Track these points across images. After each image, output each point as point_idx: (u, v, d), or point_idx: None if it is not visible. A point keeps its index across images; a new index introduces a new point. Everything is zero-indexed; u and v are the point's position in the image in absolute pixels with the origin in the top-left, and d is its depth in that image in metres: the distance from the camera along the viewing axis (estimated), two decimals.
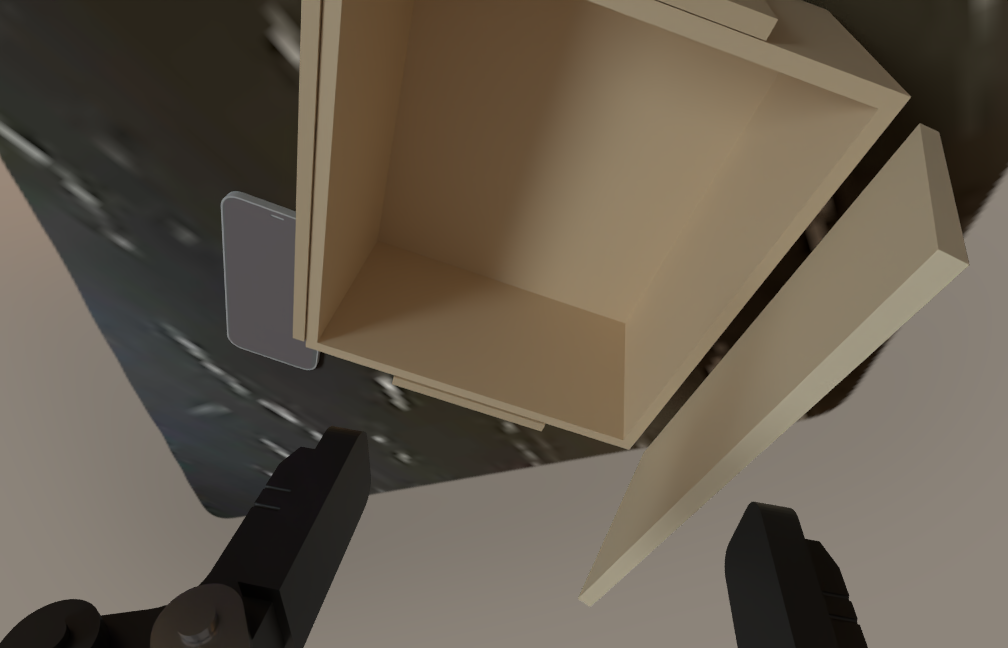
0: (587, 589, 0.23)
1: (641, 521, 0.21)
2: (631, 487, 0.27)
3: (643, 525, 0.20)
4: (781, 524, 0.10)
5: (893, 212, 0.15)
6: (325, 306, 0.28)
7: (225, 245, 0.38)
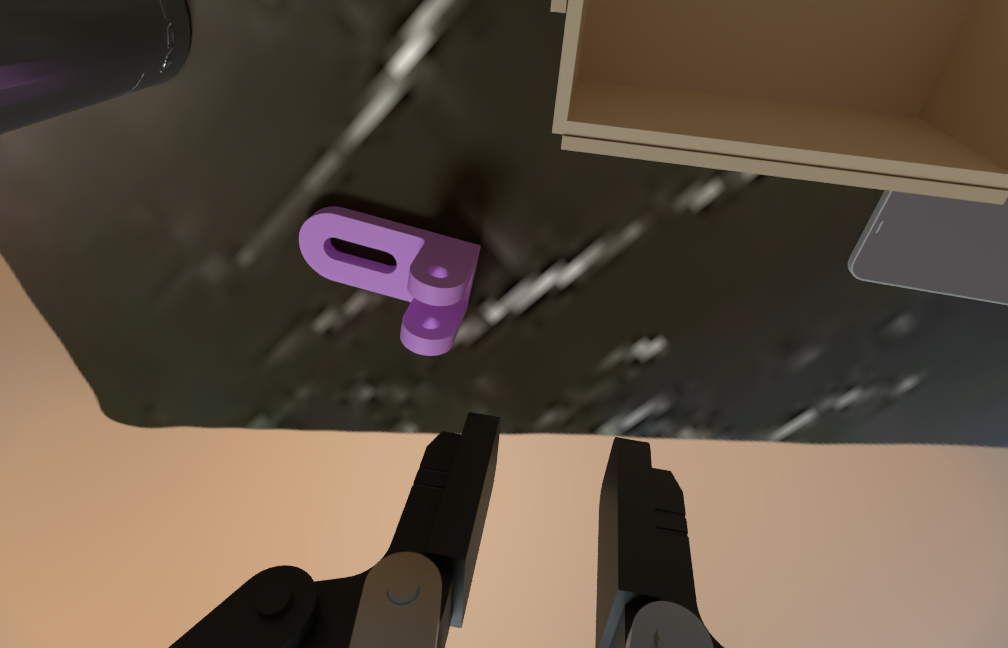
0: None
1: None
2: None
3: None
4: (633, 454, 0.12)
5: None
6: (958, 163, 0.24)
7: (915, 286, 0.37)
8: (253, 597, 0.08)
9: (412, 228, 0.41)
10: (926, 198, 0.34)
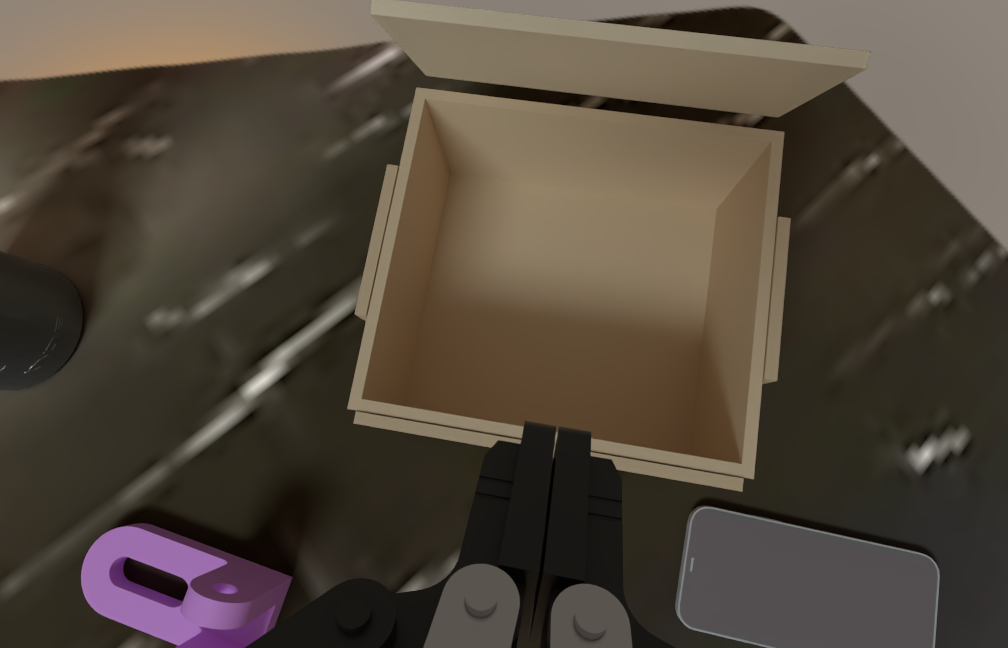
0: (837, 65, 0.21)
1: (714, 62, 0.23)
2: (783, 102, 0.27)
3: (704, 57, 0.22)
4: (573, 442, 0.12)
5: (424, 50, 0.27)
6: None
7: (749, 639, 0.34)
8: (335, 607, 0.08)
9: (220, 552, 0.37)
10: (724, 534, 0.35)
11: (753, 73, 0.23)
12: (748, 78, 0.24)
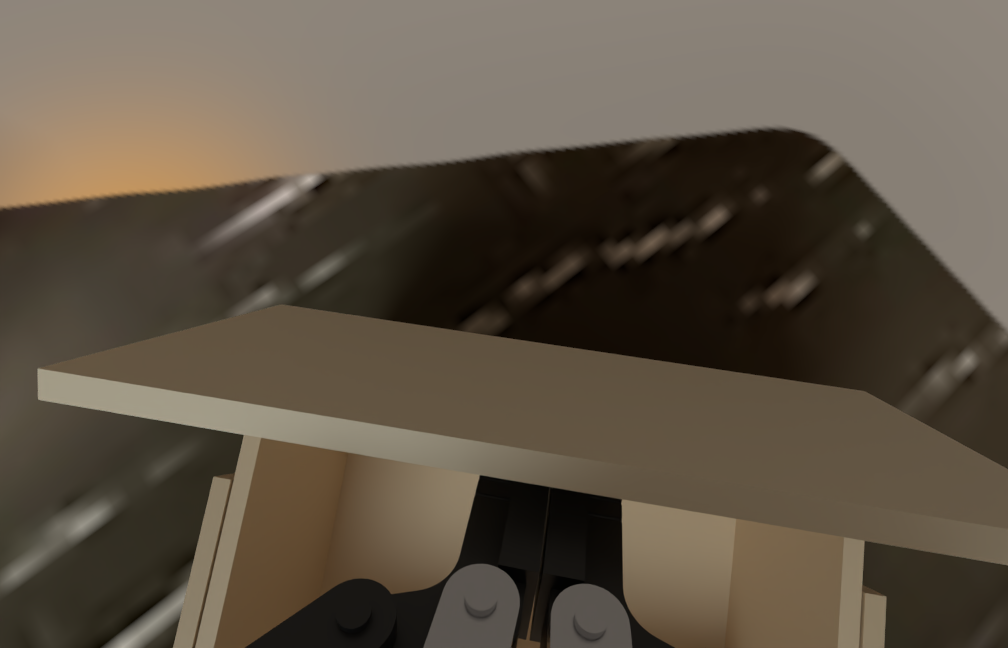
0: None
1: None
2: None
3: None
4: None
5: None
6: None
7: None
8: (335, 607, 0.08)
9: None
10: None
11: None
12: None
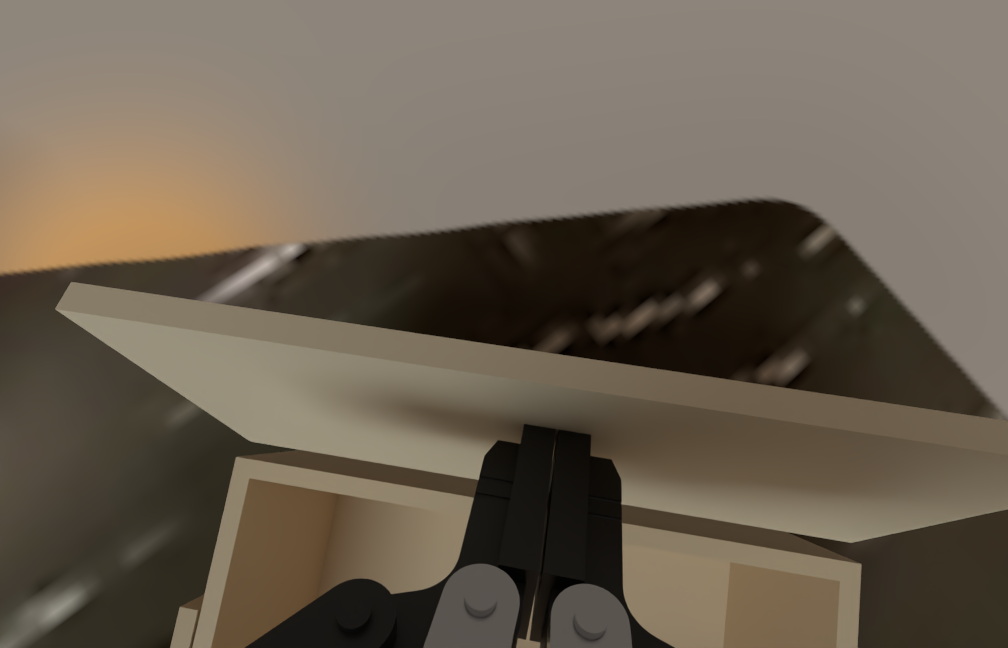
0: None
1: (784, 444, 0.11)
2: (882, 522, 0.14)
3: (766, 432, 0.10)
4: (573, 442, 0.12)
5: (216, 396, 0.14)
6: None
7: None
8: (335, 607, 0.08)
9: None
10: None
11: (858, 471, 0.11)
12: (840, 480, 0.12)
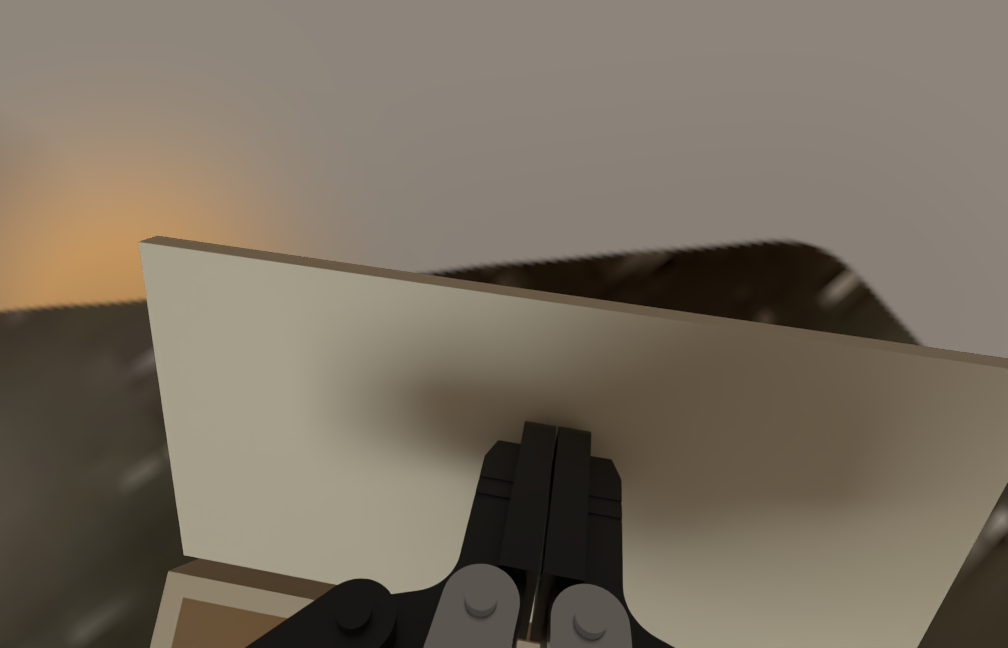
0: (1007, 369, 0.11)
1: (766, 389, 0.12)
2: (903, 595, 0.13)
3: (747, 364, 0.12)
4: (573, 442, 0.12)
5: (205, 416, 0.14)
6: None
7: None
8: (335, 607, 0.08)
9: None
10: None
11: (842, 438, 0.12)
12: (832, 468, 0.12)
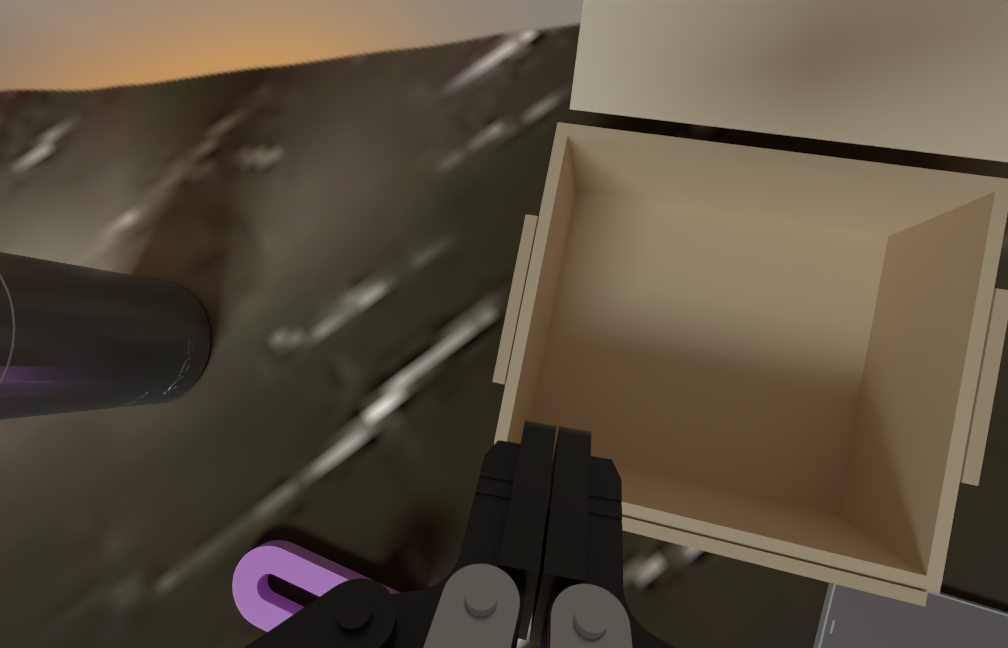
0: None
1: None
2: None
3: None
4: (573, 442, 0.12)
5: None
6: (869, 557, 0.25)
7: None
8: (335, 607, 0.08)
9: (356, 574, 0.39)
10: (871, 599, 0.33)
11: None
12: None
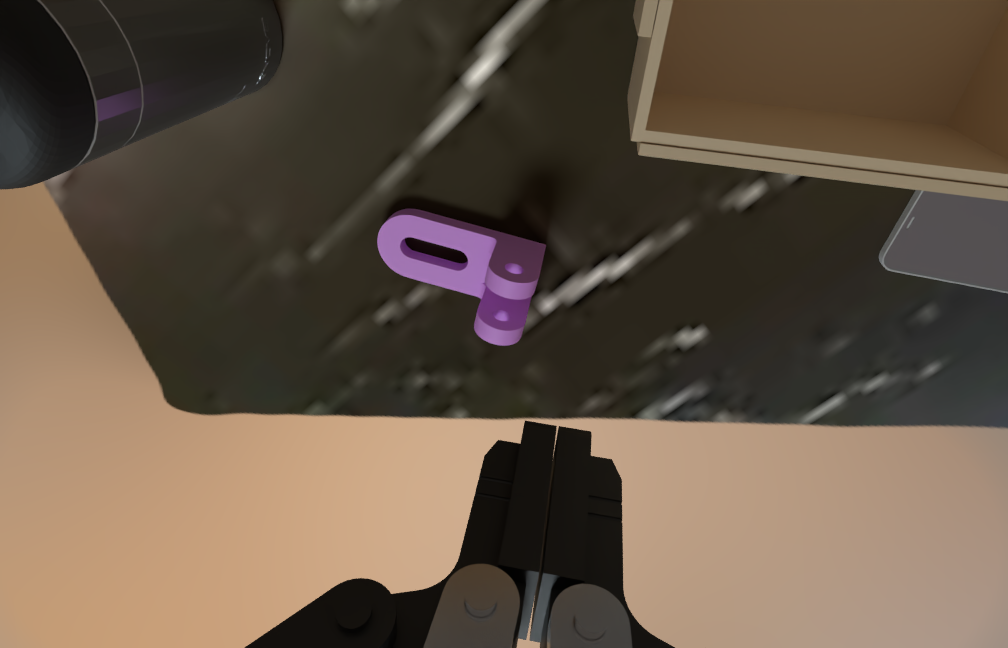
0: None
1: None
2: None
3: None
4: (573, 442, 0.12)
5: None
6: (989, 167, 0.28)
7: (939, 277, 0.40)
8: (335, 607, 0.08)
9: (483, 228, 0.44)
10: (954, 197, 0.37)
11: None
12: None
